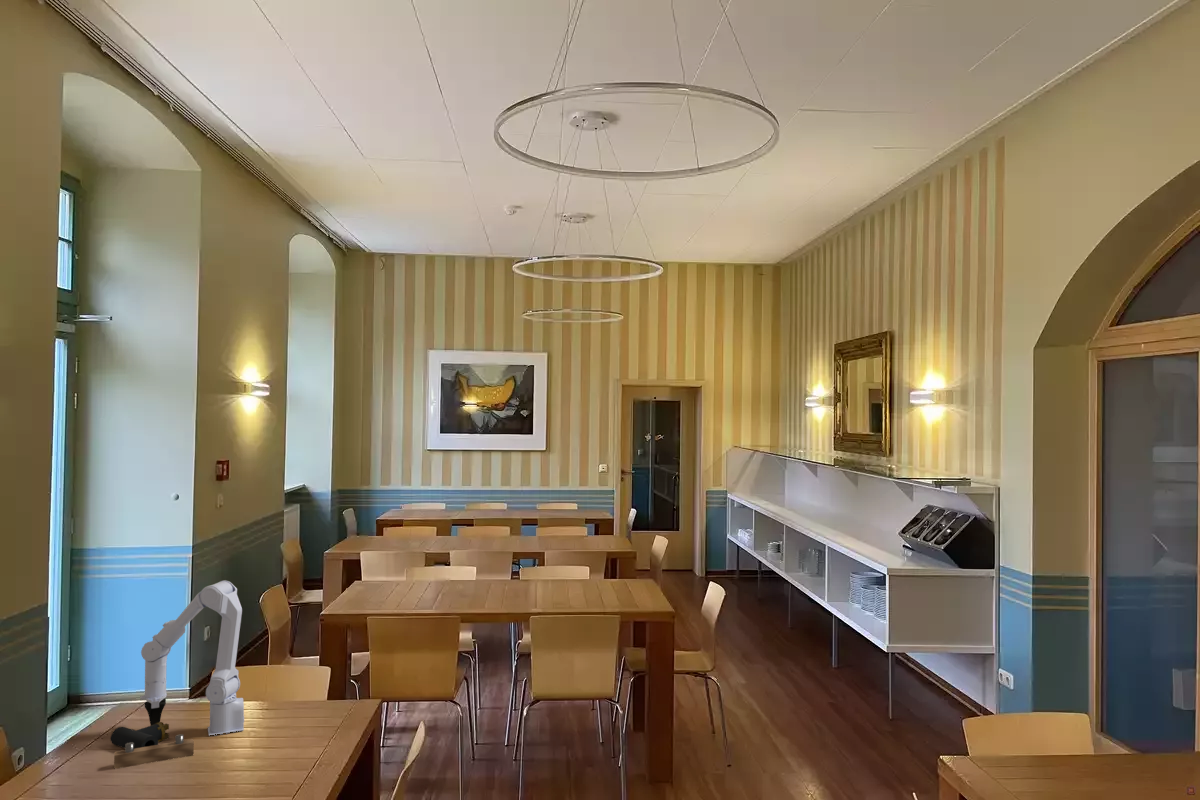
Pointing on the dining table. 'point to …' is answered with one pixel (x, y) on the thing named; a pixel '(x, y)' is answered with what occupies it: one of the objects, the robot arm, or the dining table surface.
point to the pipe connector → (140, 735)
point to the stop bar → (153, 752)
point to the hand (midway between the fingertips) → (154, 725)
